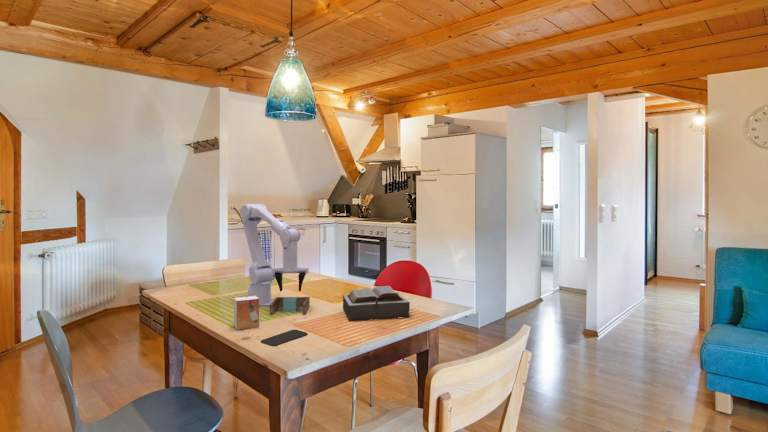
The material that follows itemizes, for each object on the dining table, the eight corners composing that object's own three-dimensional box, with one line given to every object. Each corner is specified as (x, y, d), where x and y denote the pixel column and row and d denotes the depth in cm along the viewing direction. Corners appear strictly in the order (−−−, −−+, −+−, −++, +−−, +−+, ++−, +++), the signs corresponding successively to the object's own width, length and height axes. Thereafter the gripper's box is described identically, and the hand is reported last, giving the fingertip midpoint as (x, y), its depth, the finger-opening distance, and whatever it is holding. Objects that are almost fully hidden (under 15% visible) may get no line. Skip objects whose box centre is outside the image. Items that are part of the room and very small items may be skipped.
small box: (236, 330, 153) (235, 300, 152) (233, 326, 158) (233, 297, 157) (259, 327, 156) (259, 298, 156) (256, 323, 161) (256, 295, 161)
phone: (259, 340, 141) (294, 328, 153) (259, 343, 141) (294, 331, 153) (273, 345, 137) (309, 333, 148) (273, 348, 137) (309, 335, 149)
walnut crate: (269, 315, 172) (269, 305, 172) (276, 306, 186) (276, 297, 185) (305, 314, 173) (305, 304, 173) (309, 306, 186) (309, 296, 186)
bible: (410, 322, 165) (411, 296, 164) (339, 322, 164) (339, 296, 164) (405, 306, 188) (406, 283, 188) (343, 306, 187) (343, 283, 187)
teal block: (283, 312, 177) (283, 300, 177) (285, 308, 182) (285, 297, 182) (295, 312, 177) (295, 299, 177) (297, 308, 182) (297, 297, 182)
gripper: (270, 259, 174) (270, 293, 175) (306, 259, 175) (306, 292, 175) (273, 256, 181) (274, 289, 182) (308, 256, 182) (309, 289, 182)
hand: (290, 290), depth 179 cm, fingers open, 7 cm apart
